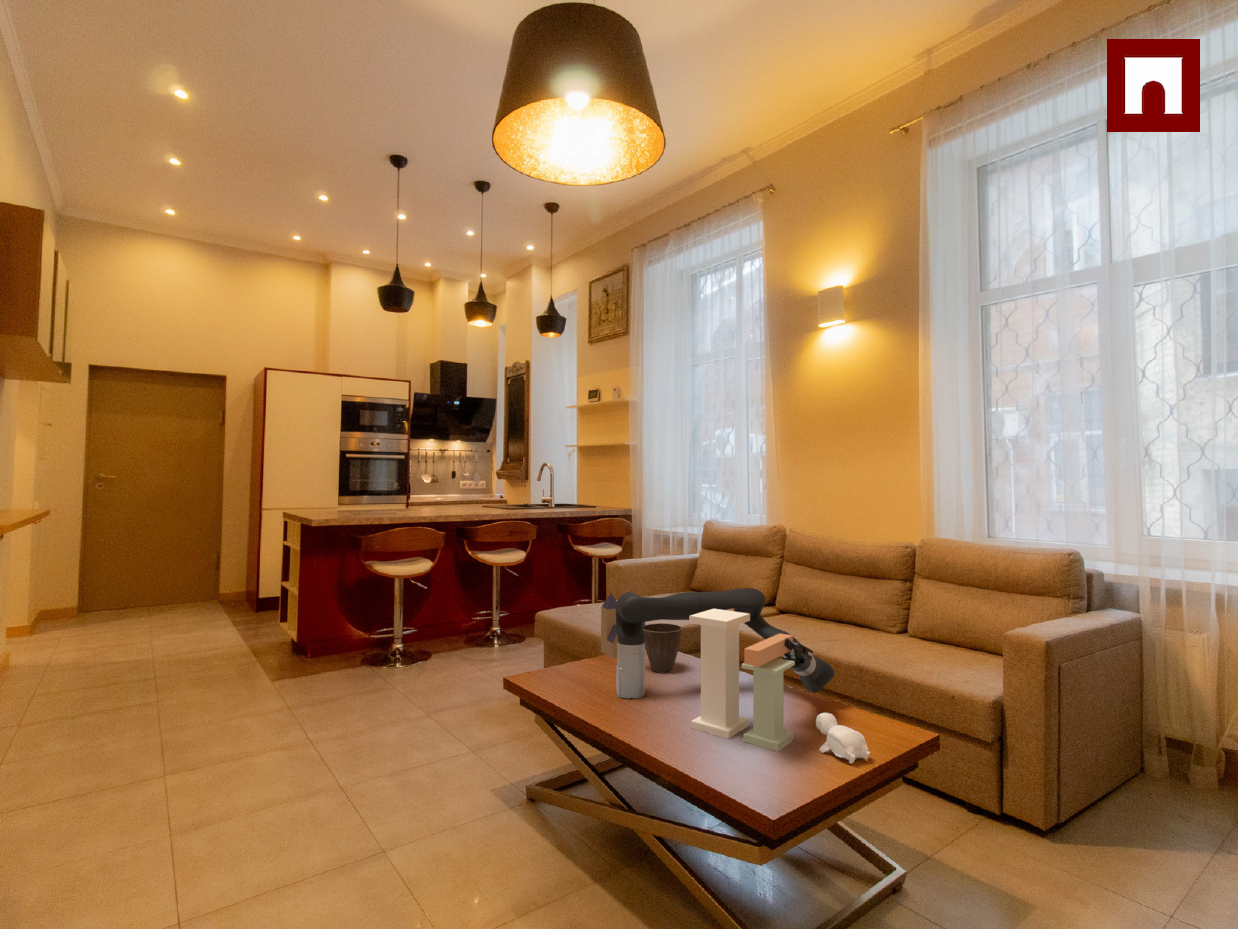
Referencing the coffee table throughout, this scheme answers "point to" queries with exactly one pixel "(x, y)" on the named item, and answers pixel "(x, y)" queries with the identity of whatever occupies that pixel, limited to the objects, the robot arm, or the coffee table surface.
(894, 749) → the coffee table surface
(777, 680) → the short stand
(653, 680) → the coffee table surface
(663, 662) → the plant pot
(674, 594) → the robot arm
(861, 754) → the white turtle figurine
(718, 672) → the tall stand
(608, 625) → the toy building blocks
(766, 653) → the beam
